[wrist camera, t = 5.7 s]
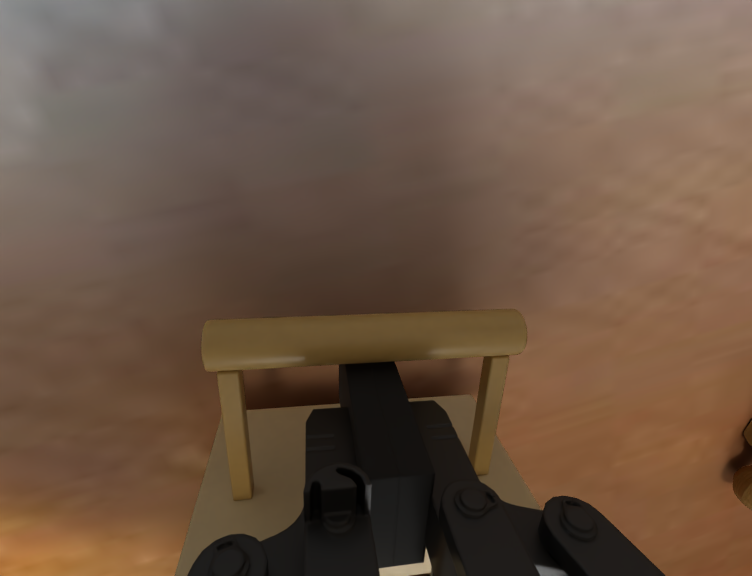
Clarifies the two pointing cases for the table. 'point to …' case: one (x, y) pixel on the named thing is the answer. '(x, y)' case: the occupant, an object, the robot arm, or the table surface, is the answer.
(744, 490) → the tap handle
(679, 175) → the table surface
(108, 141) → the table surface
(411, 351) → the drawer
